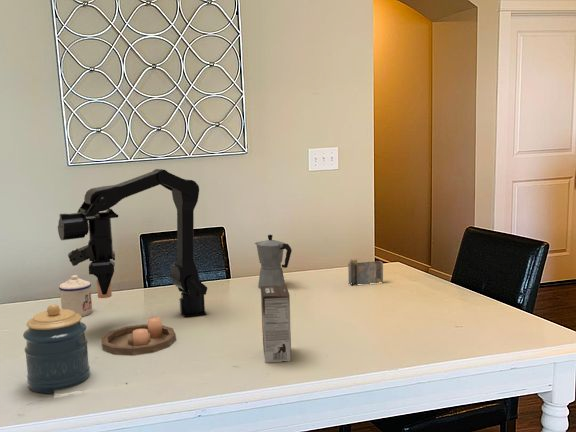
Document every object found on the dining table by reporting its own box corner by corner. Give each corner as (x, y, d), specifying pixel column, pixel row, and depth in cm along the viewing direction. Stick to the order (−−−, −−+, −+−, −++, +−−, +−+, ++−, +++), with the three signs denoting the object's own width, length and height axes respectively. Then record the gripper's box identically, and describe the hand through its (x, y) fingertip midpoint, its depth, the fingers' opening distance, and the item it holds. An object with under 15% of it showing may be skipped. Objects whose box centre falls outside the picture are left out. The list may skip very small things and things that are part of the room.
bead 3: (163, 337, 163) (162, 320, 163) (149, 339, 162) (148, 322, 162) (161, 333, 167) (160, 316, 166) (147, 334, 166) (146, 318, 165)
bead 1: (111, 294, 172) (110, 278, 172) (111, 297, 169) (110, 281, 168) (98, 295, 172) (96, 279, 171) (97, 298, 168) (96, 282, 168)
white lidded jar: (89, 317, 185) (86, 278, 184) (57, 319, 184) (54, 280, 183) (97, 305, 197) (95, 269, 195) (67, 307, 196) (64, 270, 194)
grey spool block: (350, 287, 212) (350, 259, 210) (348, 285, 215) (348, 257, 213) (383, 285, 213) (383, 257, 212) (380, 283, 216) (380, 255, 215)
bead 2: (147, 345, 158) (146, 327, 157) (149, 349, 155) (148, 332, 154) (133, 347, 157) (132, 329, 156) (134, 351, 153) (133, 334, 153)
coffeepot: (248, 287, 214) (246, 235, 212) (266, 281, 221) (264, 230, 219) (283, 293, 205) (281, 239, 202) (300, 287, 212) (299, 234, 209)
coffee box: (262, 349, 155) (260, 285, 153) (288, 347, 156) (286, 284, 153) (264, 363, 146) (261, 295, 144) (292, 361, 147) (290, 294, 144)
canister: (90, 389, 134) (83, 309, 132) (24, 398, 131) (16, 316, 128) (90, 367, 147) (85, 293, 144) (31, 375, 143) (24, 299, 140)
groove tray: (169, 329, 172) (168, 320, 172) (180, 351, 155) (180, 341, 155) (100, 338, 166) (99, 329, 166) (104, 362, 149) (103, 351, 149)
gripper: (71, 232, 175) (75, 286, 177) (65, 244, 157) (70, 304, 159) (113, 229, 178) (116, 283, 180) (112, 240, 160) (116, 300, 162)
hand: (104, 292), depth 170 cm, fingers closed on bead 1, 4 cm apart
